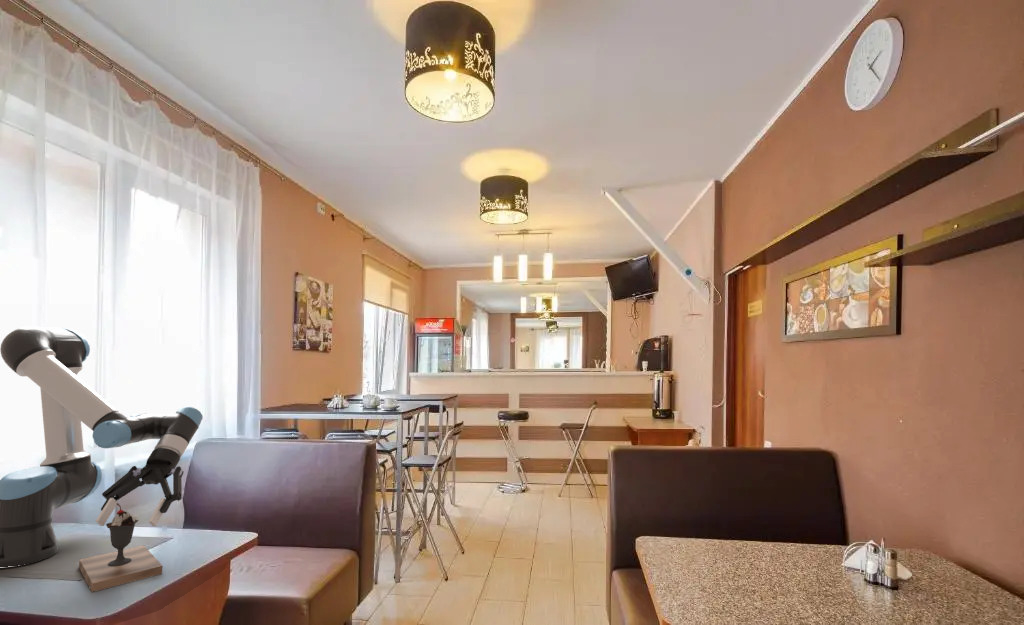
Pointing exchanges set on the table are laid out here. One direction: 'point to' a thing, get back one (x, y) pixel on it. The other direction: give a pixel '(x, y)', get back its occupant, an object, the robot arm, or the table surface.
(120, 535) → the sundae
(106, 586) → the brown flat wooden slab
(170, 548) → the table surface
